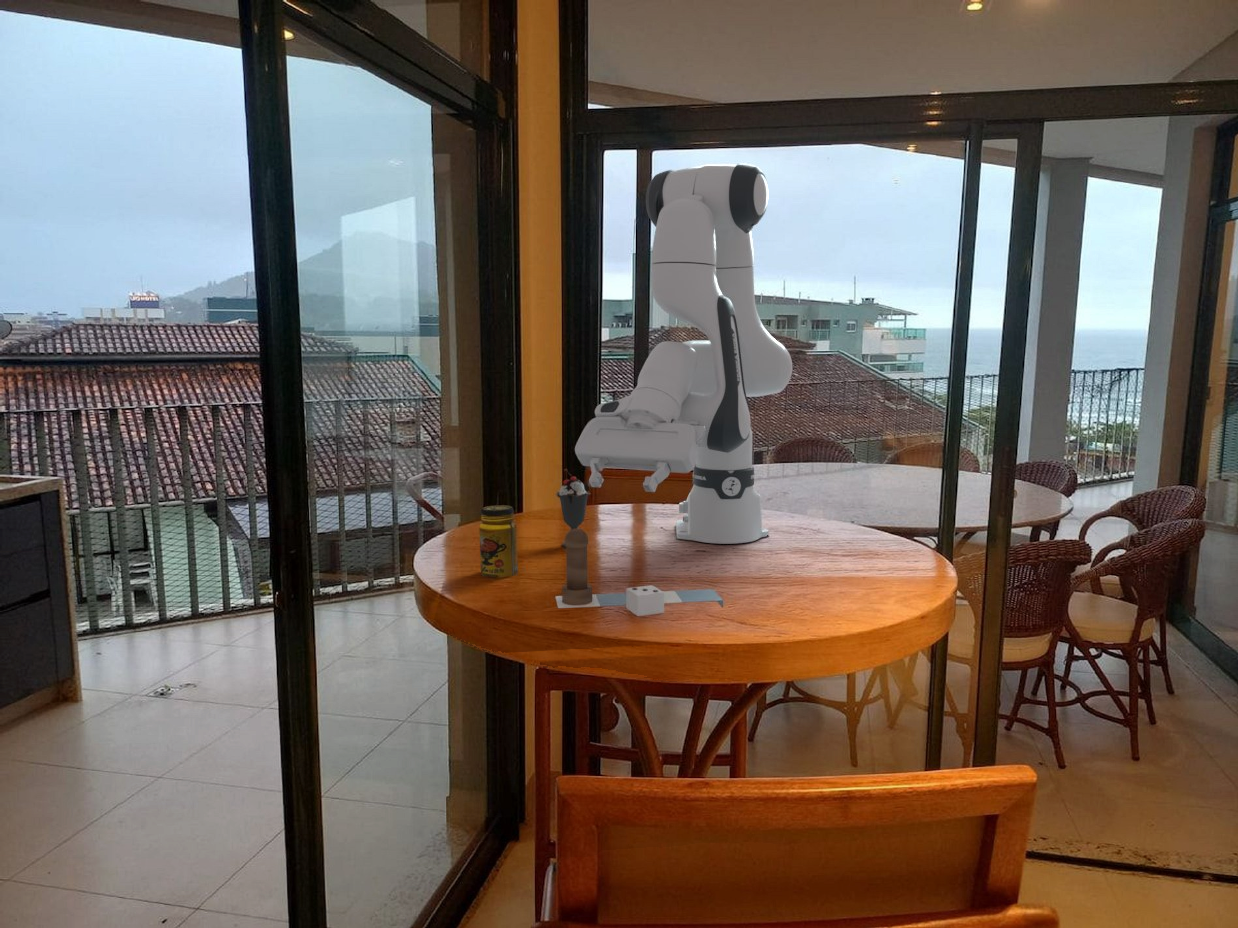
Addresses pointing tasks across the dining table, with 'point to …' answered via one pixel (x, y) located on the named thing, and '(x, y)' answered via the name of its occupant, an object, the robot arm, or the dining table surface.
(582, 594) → the pawn
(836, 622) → the dining table surface
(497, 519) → the condiment
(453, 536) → the dining table surface
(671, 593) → the board
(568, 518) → the sundae
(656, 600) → the die
